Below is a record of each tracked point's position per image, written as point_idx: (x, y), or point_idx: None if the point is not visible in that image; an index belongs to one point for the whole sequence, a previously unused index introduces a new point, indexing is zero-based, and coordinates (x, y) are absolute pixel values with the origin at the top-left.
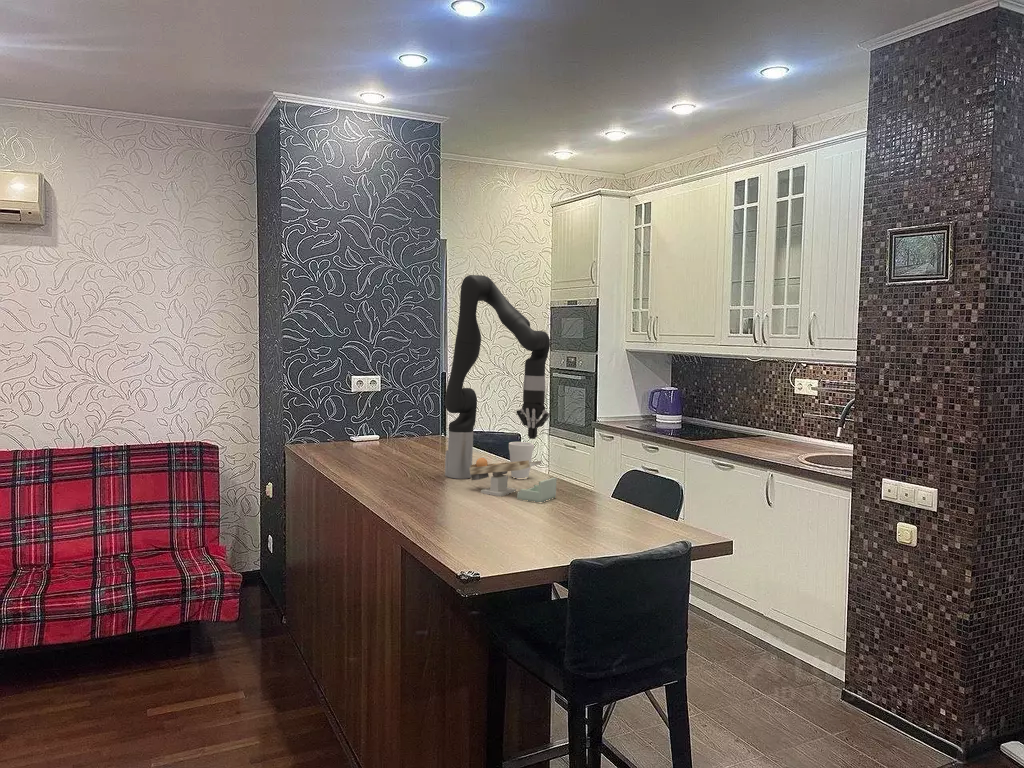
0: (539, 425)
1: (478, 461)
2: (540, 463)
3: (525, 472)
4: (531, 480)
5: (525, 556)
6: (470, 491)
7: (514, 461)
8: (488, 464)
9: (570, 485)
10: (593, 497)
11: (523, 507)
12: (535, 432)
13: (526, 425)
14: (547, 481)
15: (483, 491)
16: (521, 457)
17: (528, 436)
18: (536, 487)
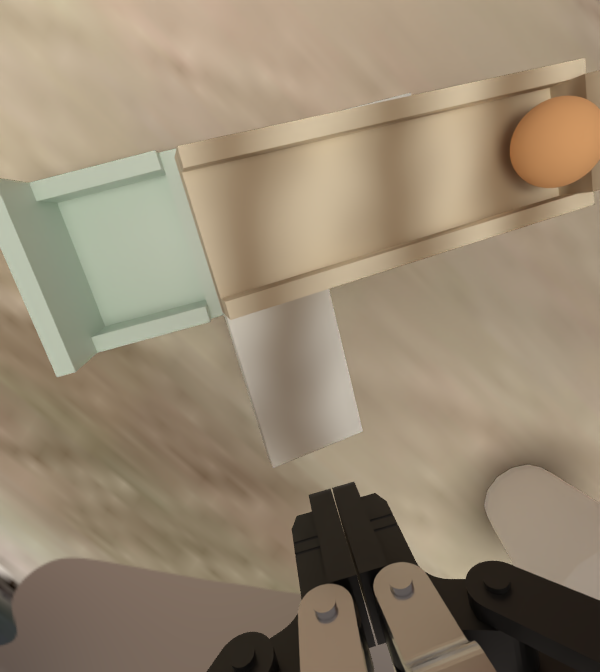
0: (211, 670)
1: (571, 97)
2: (266, 448)
3: (499, 516)
4: (452, 506)
5: None
6: (467, 77)
7: (576, 509)
8: (538, 211)
9: (278, 577)
10: (31, 504)
11: (9, 36)
12: (298, 568)
13: (464, 585)
14: (10, 262)
15: (392, 97)
16: (556, 544)
17: (375, 495)
18: (189, 308)
